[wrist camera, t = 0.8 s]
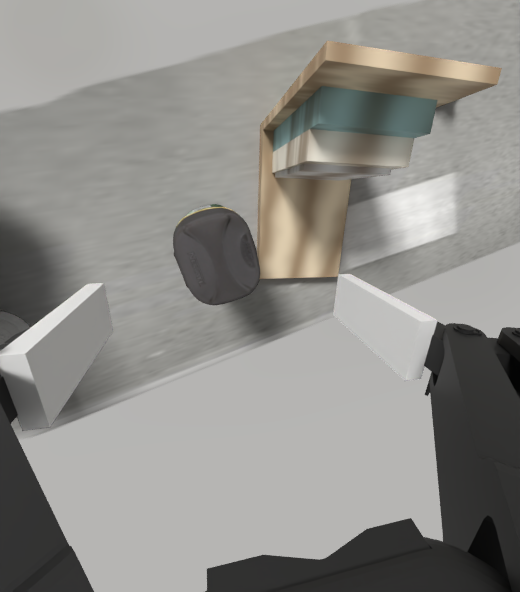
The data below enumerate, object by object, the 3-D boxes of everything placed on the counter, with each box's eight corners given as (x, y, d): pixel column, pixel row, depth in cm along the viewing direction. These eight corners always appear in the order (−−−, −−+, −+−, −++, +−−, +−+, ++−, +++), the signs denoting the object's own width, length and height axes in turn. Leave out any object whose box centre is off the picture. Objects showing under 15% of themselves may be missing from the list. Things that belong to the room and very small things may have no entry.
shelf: (256, 275, 45) (299, 340, 25) (260, 125, 37) (327, 40, 17) (332, 273, 48) (427, 330, 27) (351, 132, 40) (501, 68, 20)
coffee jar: (246, 257, 43) (273, 297, 26) (199, 272, 43) (196, 323, 26) (228, 197, 40) (246, 198, 23) (176, 212, 39) (155, 225, 22)
